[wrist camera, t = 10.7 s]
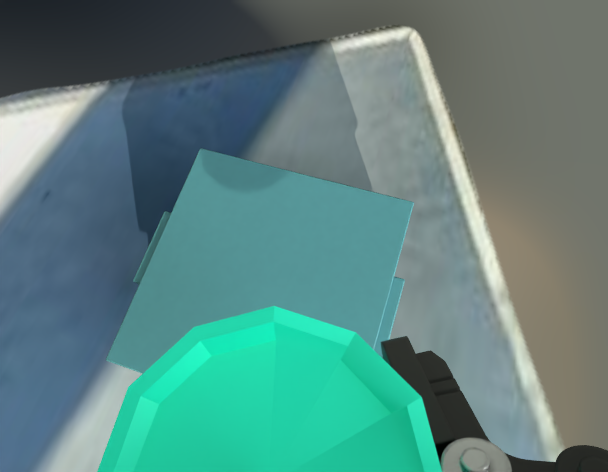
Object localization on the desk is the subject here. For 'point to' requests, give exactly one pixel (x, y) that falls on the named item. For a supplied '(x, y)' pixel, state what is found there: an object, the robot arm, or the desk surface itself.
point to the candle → (271, 404)
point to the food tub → (264, 256)
